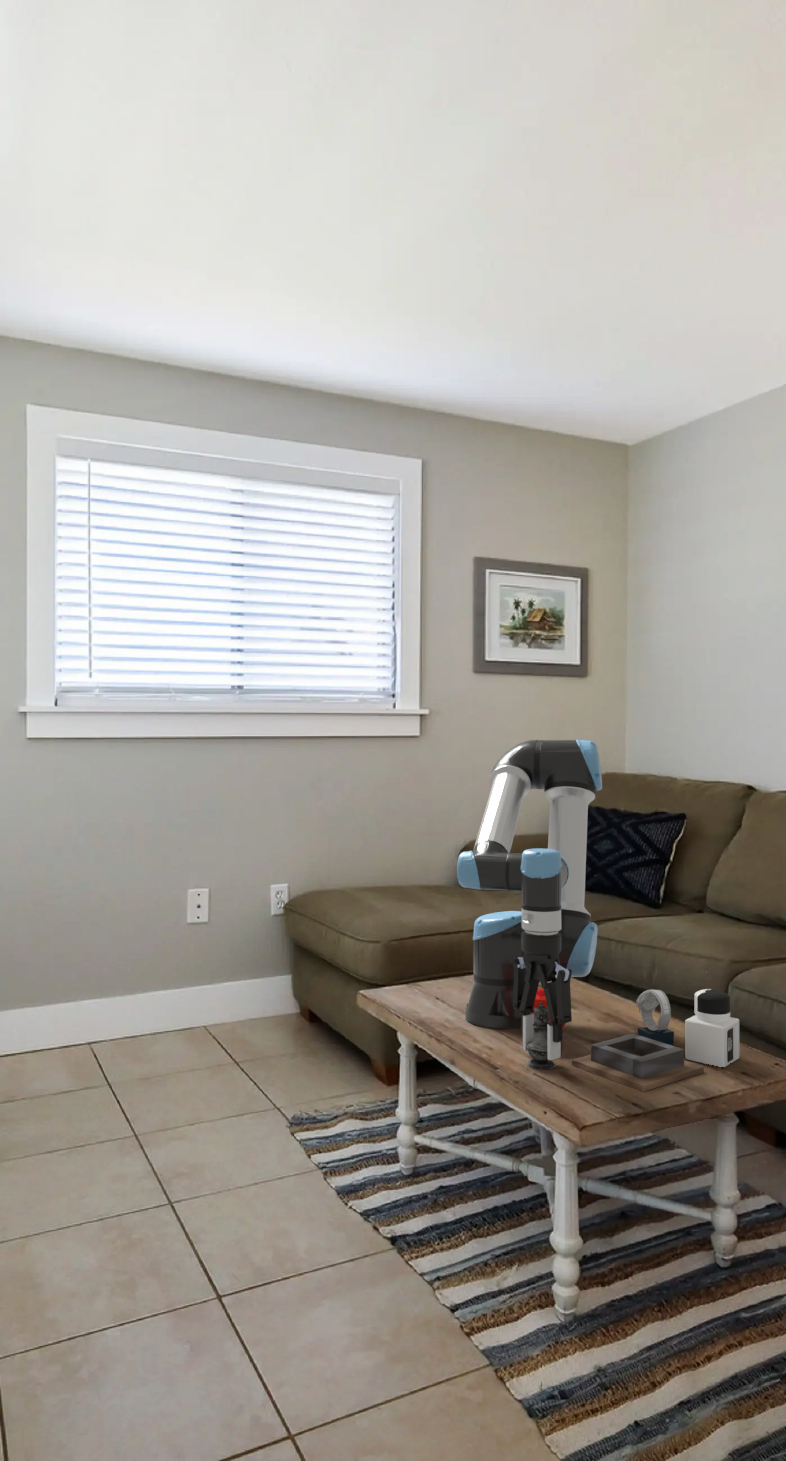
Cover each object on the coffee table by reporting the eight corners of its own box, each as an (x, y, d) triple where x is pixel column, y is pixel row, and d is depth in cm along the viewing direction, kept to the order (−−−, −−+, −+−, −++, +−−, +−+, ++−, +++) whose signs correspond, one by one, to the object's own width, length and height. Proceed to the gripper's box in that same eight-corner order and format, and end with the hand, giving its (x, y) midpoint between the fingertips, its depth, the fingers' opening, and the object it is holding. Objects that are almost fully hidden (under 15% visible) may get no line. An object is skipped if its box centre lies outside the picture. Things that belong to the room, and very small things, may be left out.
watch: (656, 1038, 197) (656, 984, 197) (678, 1050, 189) (678, 994, 189) (632, 1040, 195) (632, 986, 195) (654, 1052, 188) (654, 996, 188)
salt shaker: (522, 1067, 179) (522, 1003, 179) (530, 1058, 184) (530, 995, 184) (553, 1071, 176) (553, 1006, 177) (560, 1062, 182) (560, 999, 182)
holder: (571, 1065, 180) (571, 1044, 180) (631, 1048, 190) (631, 1028, 190) (643, 1091, 166) (643, 1068, 166) (703, 1072, 176) (703, 1050, 176)
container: (740, 1058, 184) (739, 991, 184) (723, 1069, 178) (723, 999, 178) (701, 1050, 189) (701, 984, 189) (684, 1060, 183) (684, 992, 184)
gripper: (493, 925, 186) (493, 1044, 186) (563, 942, 171) (564, 1071, 171) (521, 921, 191) (521, 1037, 190) (592, 937, 175) (592, 1063, 175)
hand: (541, 1053), depth 180 cm, fingers closed on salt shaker, 6 cm apart
